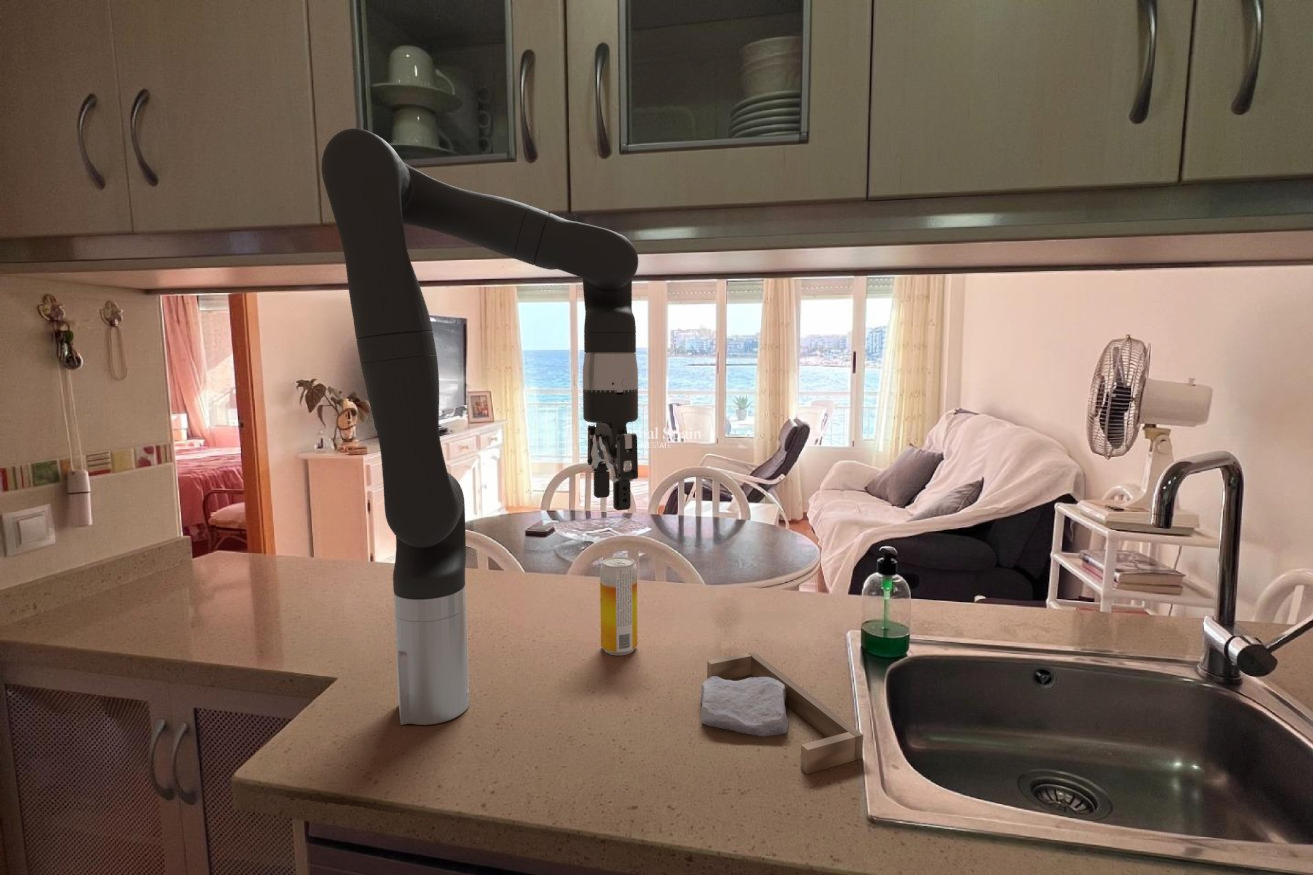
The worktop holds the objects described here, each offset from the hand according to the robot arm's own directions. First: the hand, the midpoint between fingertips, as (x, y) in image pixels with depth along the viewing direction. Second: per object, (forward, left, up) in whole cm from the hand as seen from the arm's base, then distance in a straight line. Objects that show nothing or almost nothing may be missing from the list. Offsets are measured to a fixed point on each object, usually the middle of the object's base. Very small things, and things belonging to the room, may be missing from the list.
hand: (611, 503), depth 94 cm
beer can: (+6, +14, -28) cm, 32 cm away
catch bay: (+19, -14, -28) cm, 36 cm away
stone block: (+14, -13, -29) cm, 34 cm away
